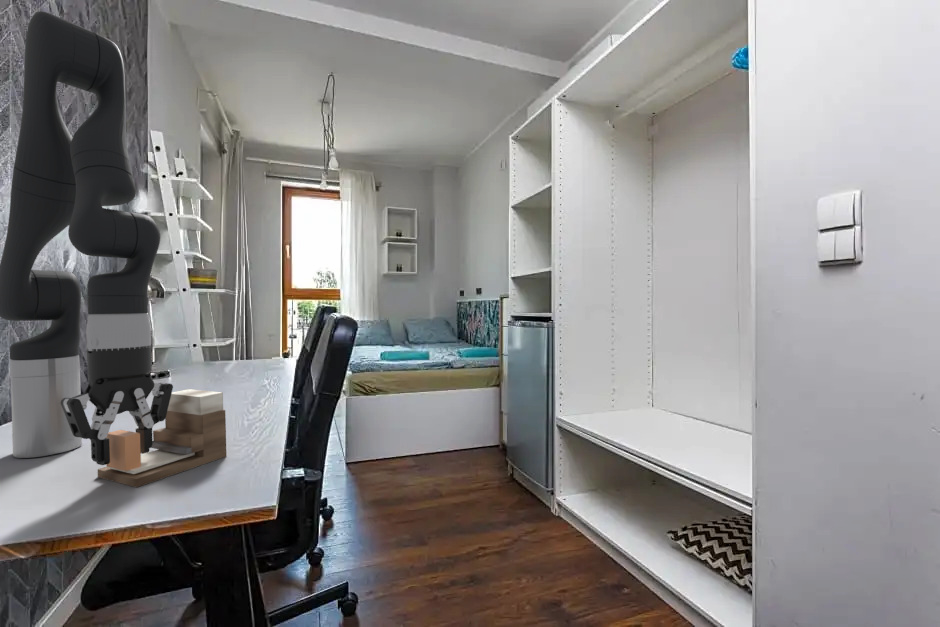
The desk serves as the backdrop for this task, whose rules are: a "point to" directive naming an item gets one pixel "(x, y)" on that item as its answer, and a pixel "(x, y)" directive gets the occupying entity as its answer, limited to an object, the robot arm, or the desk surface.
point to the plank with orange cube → (136, 453)
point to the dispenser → (183, 436)
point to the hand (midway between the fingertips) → (123, 457)
